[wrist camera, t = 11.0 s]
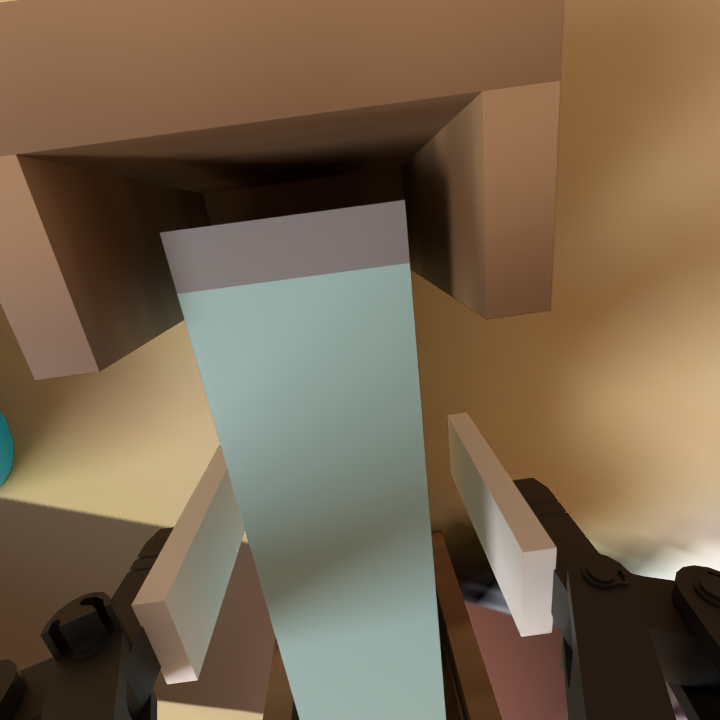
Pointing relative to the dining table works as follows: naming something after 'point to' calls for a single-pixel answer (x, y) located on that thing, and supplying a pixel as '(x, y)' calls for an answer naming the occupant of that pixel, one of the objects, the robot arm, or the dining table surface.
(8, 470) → the mug
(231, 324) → the rail
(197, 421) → the dining table surface
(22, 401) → the dining table surface
